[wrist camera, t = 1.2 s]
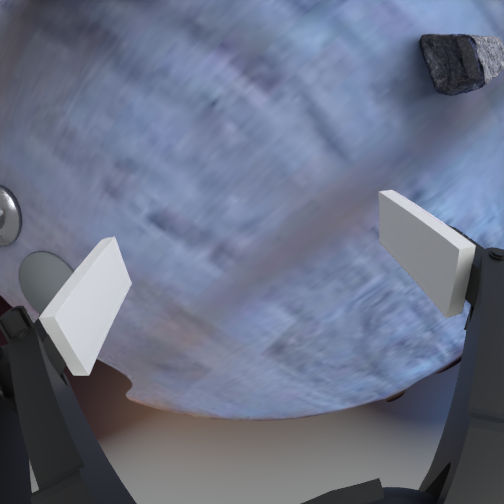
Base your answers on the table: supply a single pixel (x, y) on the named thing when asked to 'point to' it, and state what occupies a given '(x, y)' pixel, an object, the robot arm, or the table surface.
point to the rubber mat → (43, 278)
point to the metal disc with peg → (9, 217)
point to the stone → (462, 72)
